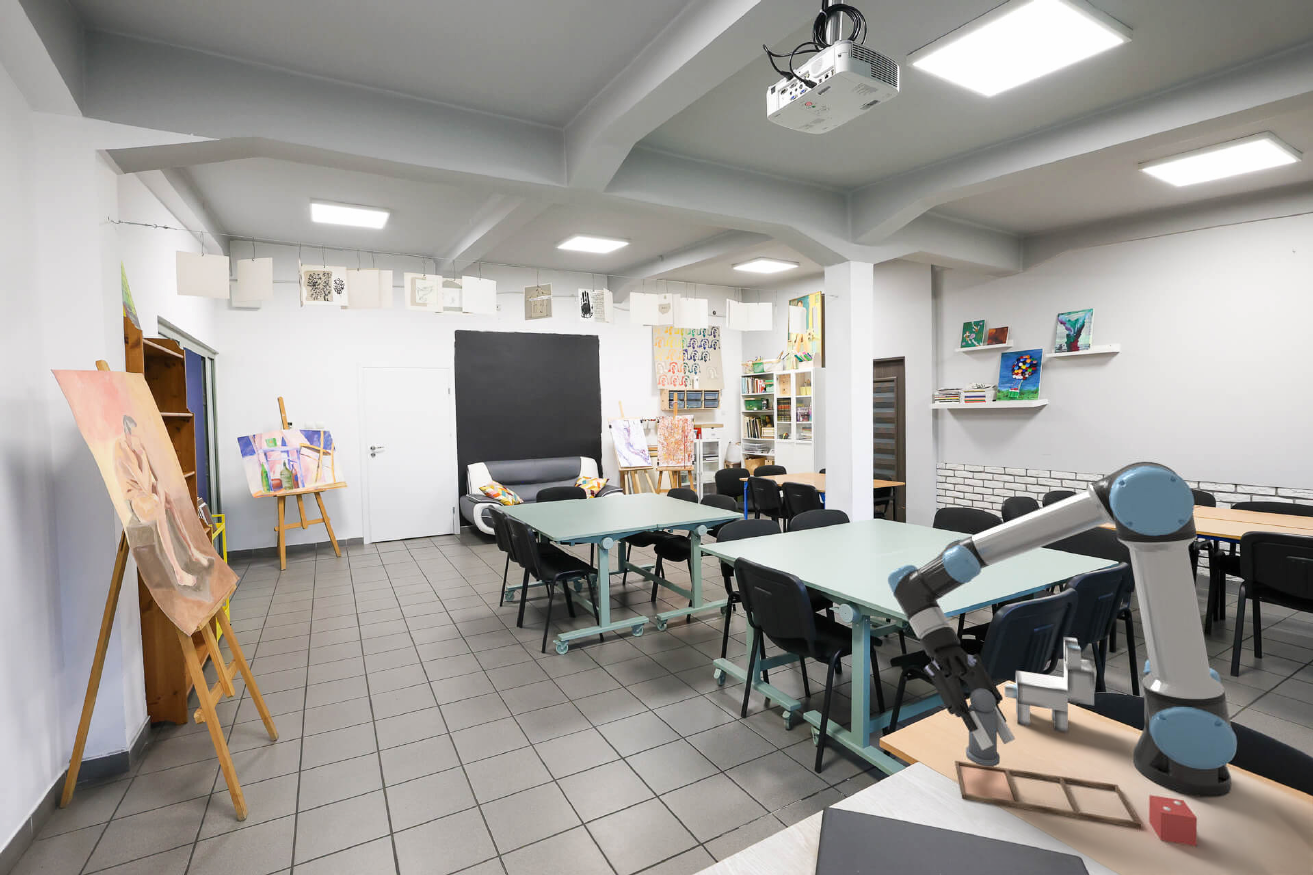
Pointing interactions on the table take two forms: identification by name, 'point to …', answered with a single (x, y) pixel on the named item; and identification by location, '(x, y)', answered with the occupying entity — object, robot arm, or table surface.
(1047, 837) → the table surface
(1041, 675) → the toy llama
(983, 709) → the pawn
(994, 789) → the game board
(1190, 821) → the red die
